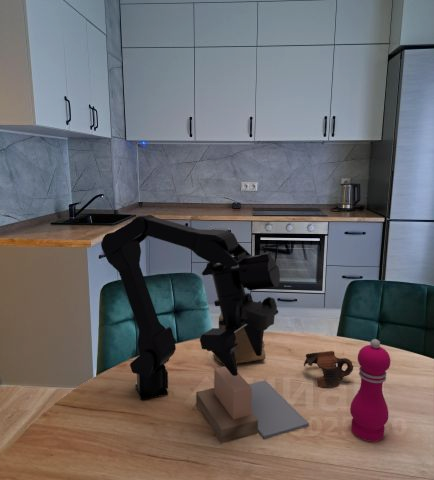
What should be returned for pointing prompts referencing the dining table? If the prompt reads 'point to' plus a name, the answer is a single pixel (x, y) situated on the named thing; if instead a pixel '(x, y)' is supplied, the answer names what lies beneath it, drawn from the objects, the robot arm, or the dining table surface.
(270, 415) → the mat
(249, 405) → the salmon pink block
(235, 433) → the ledge
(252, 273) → the robot arm
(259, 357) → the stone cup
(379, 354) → the pepper mill
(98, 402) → the dining table surface
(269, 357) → the dining table surface
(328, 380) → the pottery mug
